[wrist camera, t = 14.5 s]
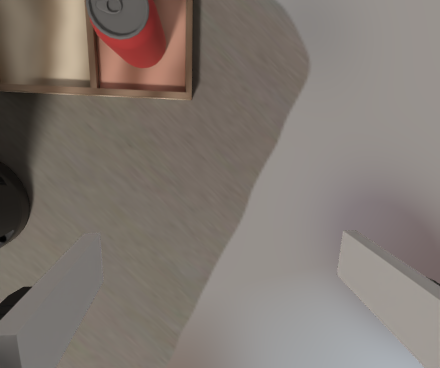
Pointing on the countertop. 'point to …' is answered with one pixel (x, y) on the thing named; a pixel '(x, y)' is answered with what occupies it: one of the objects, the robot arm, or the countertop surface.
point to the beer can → (129, 29)
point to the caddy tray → (88, 52)
